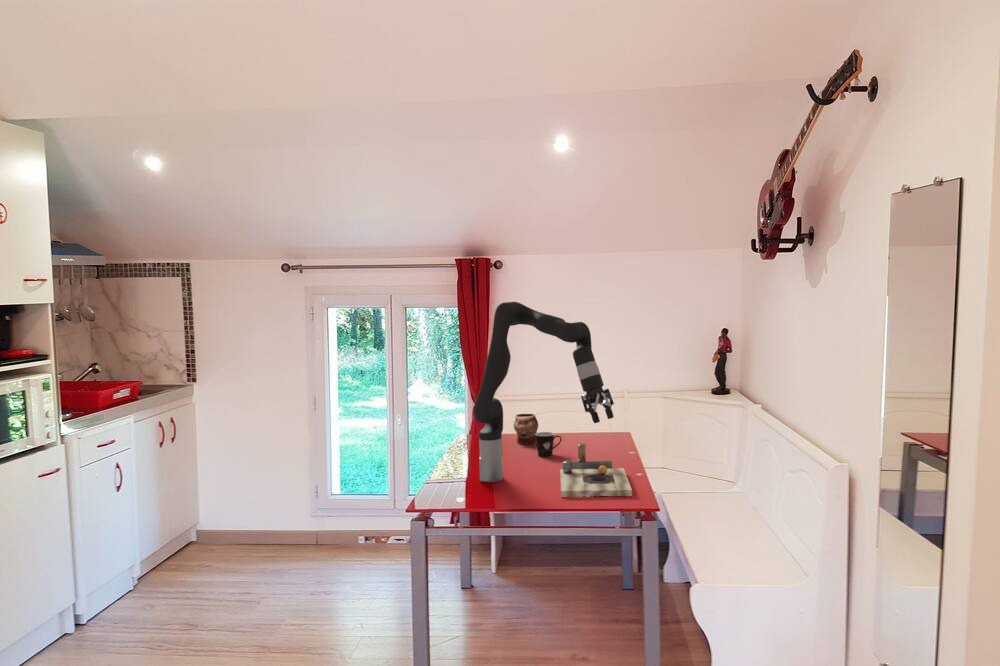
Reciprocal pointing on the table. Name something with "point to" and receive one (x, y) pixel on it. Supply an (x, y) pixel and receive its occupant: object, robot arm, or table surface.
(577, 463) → the catapult lever
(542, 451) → the coffee mug
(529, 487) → the table surface
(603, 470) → the ball
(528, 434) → the decorative planter
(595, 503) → the table surface
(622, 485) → the board
